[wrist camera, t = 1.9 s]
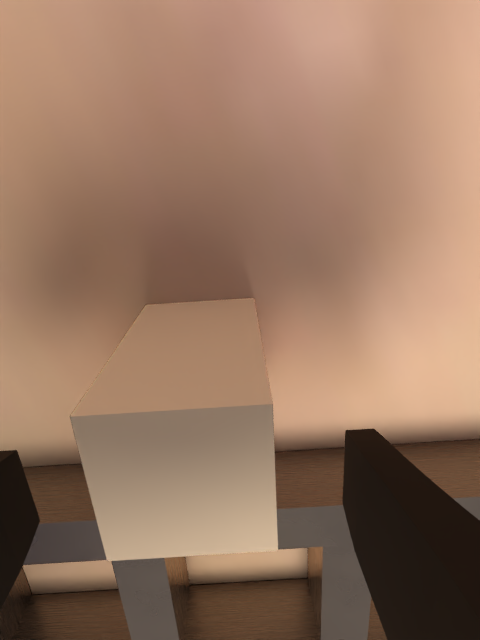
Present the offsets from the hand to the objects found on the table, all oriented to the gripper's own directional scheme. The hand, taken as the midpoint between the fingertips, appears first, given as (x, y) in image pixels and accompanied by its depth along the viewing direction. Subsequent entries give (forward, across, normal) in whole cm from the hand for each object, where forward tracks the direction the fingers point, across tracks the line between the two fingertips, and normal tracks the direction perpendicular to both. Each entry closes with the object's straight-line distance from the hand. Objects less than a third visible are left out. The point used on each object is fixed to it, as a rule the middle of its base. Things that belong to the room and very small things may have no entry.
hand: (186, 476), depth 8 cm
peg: (+7, 0, 0) cm, 7 cm away
